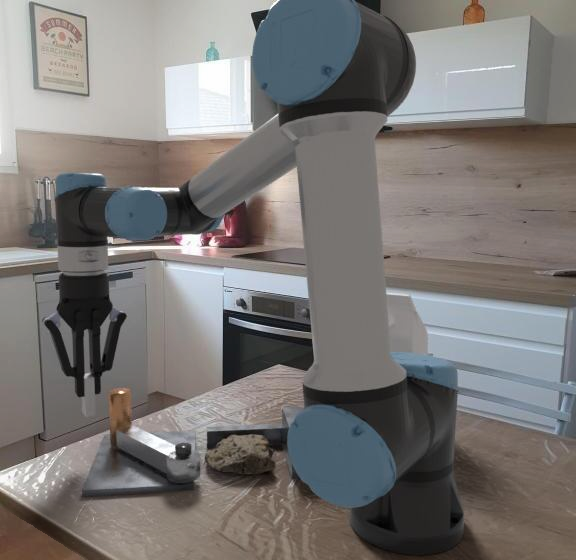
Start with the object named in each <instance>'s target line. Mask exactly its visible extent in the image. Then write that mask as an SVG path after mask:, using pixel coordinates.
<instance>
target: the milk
mask: <svg viewBox="0 0 576 560" xmlns="http://www.w3.org/2000/svg"><path fill="white" fill-rule="evenodd" d="M386 295H387V308H388V321H389V334H390V347H391V352H406V353H415V354H422V355H428V354H429V352H428V348H429V347H428V346H429V345H428V342H429V341H428V340H429V339H428V338H429V337H428V330H427V328H426V325H425V323H424V322H423V320H422V318H421V316H420V315H419V313H418V311H417V310H416V307H415V303H414V301H413V299H412V296H411V294H405V293H404V294H403V293H391V292H386ZM428 356H429V355H428Z"/></svg>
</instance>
